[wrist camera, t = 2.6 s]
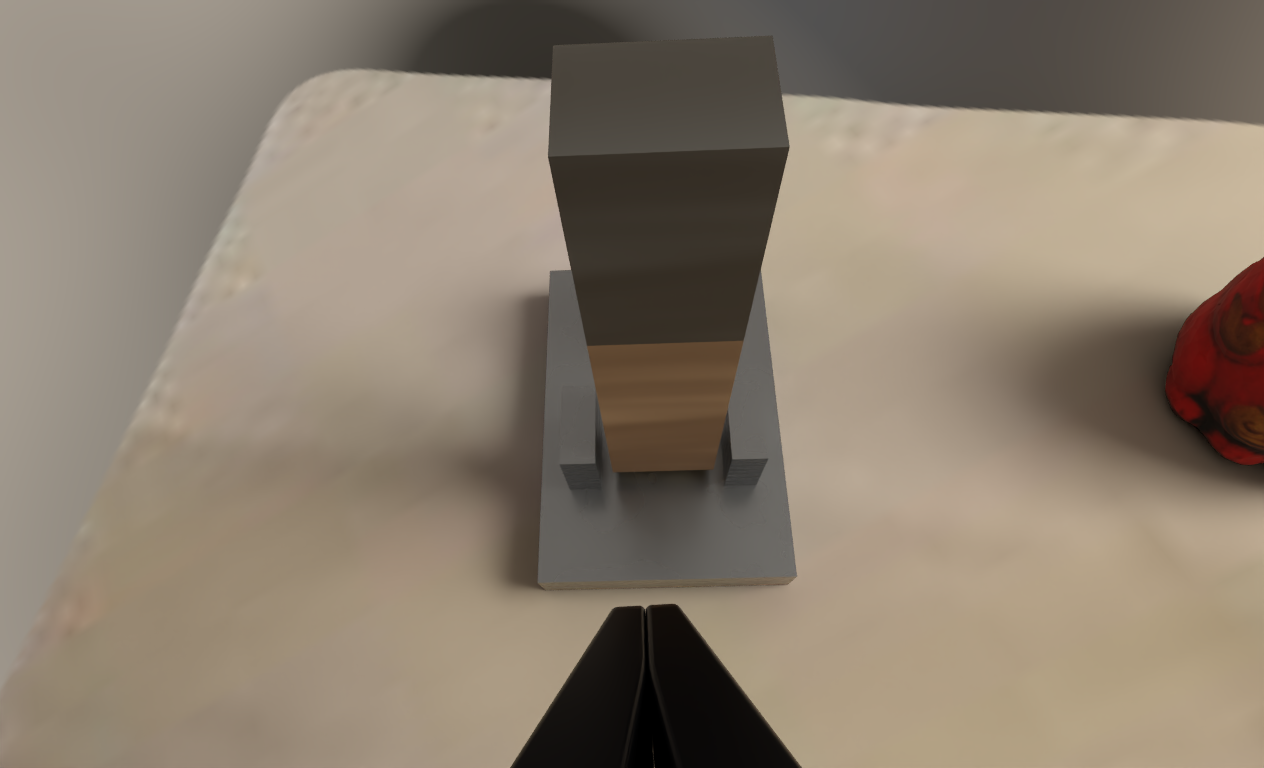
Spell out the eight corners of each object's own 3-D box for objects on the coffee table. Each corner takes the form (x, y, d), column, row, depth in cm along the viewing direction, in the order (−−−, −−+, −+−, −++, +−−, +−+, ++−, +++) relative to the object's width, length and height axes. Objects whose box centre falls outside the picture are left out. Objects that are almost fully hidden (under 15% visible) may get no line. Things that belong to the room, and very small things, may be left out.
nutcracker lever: (711, 477, 21) (789, 146, 8) (614, 480, 21) (548, 156, 8) (707, 417, 22) (772, 35, 9) (614, 420, 22) (553, 45, 9)
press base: (788, 584, 21) (826, 549, 16) (545, 590, 21) (511, 557, 16) (754, 286, 26) (776, 189, 21) (555, 293, 26) (531, 198, 21)
